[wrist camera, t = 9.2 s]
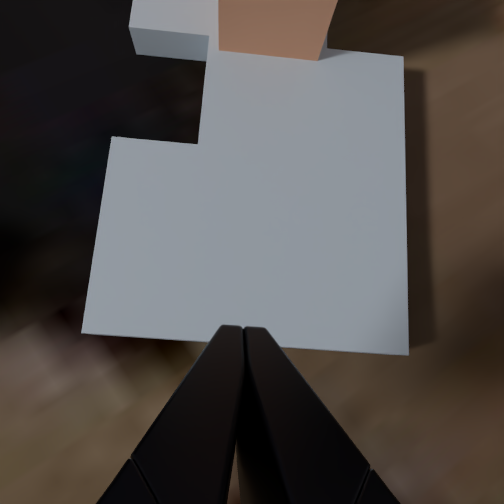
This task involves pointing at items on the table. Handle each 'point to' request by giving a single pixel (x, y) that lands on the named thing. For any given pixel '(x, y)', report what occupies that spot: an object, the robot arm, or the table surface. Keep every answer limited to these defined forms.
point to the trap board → (259, 200)
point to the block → (275, 27)
